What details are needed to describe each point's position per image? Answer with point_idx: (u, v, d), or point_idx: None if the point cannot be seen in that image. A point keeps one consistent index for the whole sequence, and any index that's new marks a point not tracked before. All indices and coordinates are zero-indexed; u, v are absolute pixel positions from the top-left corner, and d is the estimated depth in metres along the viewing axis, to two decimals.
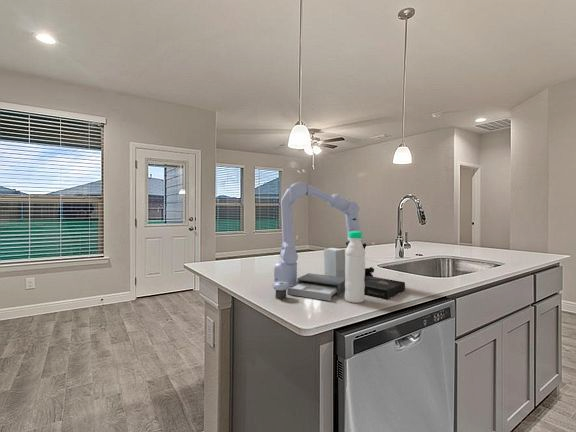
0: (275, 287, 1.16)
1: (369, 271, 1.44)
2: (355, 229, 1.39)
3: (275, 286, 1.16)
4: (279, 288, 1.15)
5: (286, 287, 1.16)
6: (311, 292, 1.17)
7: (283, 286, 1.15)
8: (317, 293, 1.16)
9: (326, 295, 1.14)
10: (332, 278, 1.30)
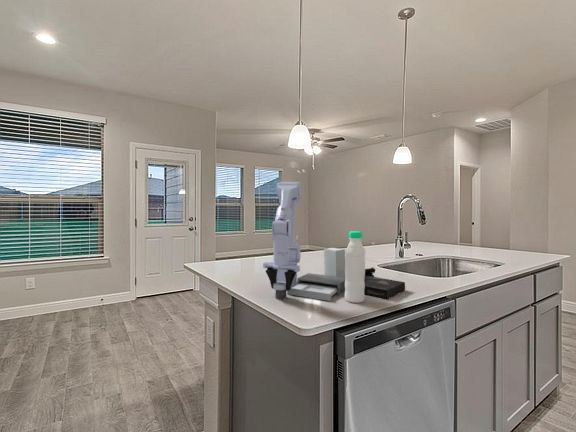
0: (275, 287, 1.16)
1: (370, 271, 1.43)
2: None
3: (275, 286, 1.16)
4: (279, 288, 1.15)
5: None
6: (311, 292, 1.17)
7: (283, 286, 1.15)
8: (317, 293, 1.16)
9: (326, 295, 1.14)
10: (332, 278, 1.30)
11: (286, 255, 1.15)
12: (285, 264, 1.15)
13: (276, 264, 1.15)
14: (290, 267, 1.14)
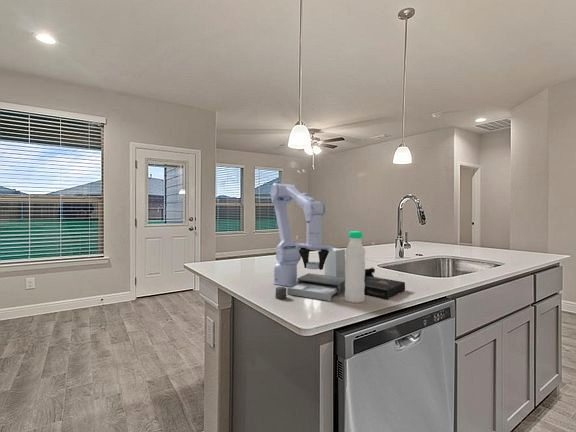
0: (308, 266, 1.19)
1: (370, 272, 1.43)
2: None
3: (308, 265, 1.19)
4: (312, 267, 1.18)
5: None
6: (311, 292, 1.17)
7: (316, 265, 1.19)
8: (317, 293, 1.16)
9: (326, 295, 1.14)
10: (332, 278, 1.30)
11: (319, 235, 1.19)
12: (318, 244, 1.19)
13: (310, 244, 1.19)
14: (324, 246, 1.17)
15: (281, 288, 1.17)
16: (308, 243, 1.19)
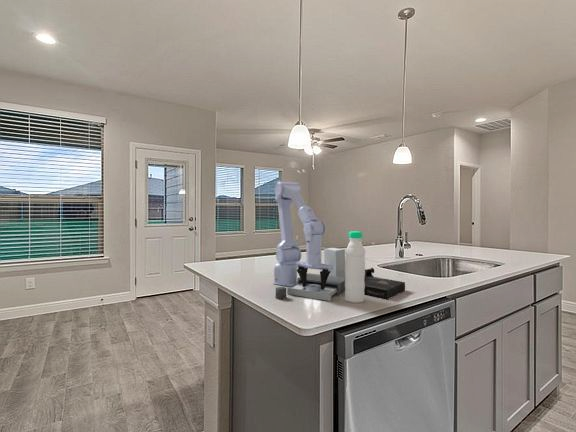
0: (308, 289, 1.20)
1: (370, 272, 1.42)
2: None
3: (308, 289, 1.20)
4: (312, 290, 1.19)
5: (319, 289, 1.20)
6: (311, 292, 1.17)
7: (316, 289, 1.19)
8: (317, 293, 1.16)
9: (326, 295, 1.14)
10: (332, 278, 1.30)
11: (319, 255, 1.19)
12: (318, 263, 1.19)
13: (309, 263, 1.19)
14: (323, 266, 1.18)
15: (281, 288, 1.17)
16: (308, 263, 1.19)
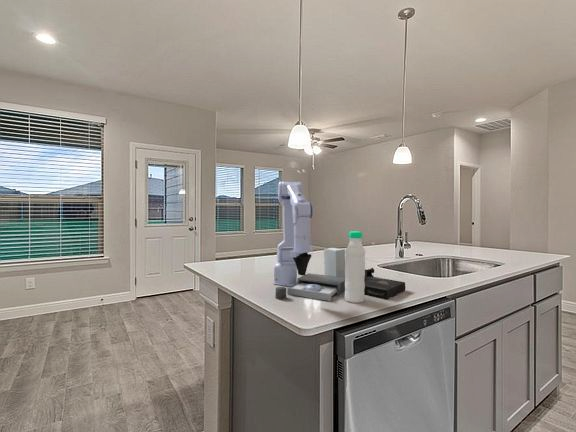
0: (308, 289, 1.20)
1: (370, 272, 1.42)
2: (298, 237, 1.09)
3: (308, 288, 1.20)
4: (312, 290, 1.19)
5: (319, 289, 1.20)
6: (311, 292, 1.17)
7: (316, 289, 1.19)
8: (317, 293, 1.16)
9: (326, 295, 1.14)
10: (332, 278, 1.30)
11: None
12: None
13: (309, 248, 1.10)
14: (311, 248, 1.15)
15: (281, 288, 1.17)
16: (307, 248, 1.10)
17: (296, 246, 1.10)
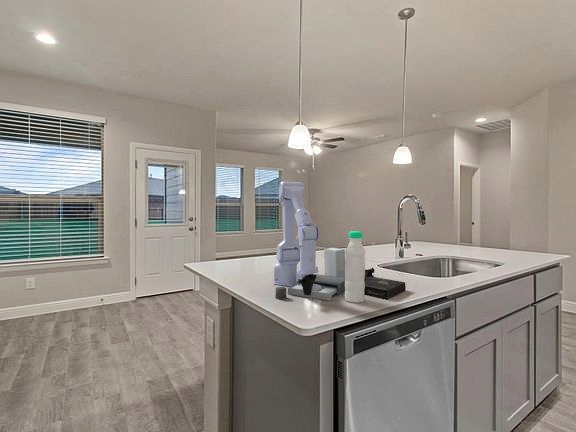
0: None
1: (371, 272, 1.42)
2: (304, 259, 1.14)
3: None
4: (312, 290, 1.19)
5: (319, 289, 1.20)
6: (311, 292, 1.17)
7: (316, 288, 1.19)
8: (317, 293, 1.16)
9: (326, 295, 1.14)
10: (332, 278, 1.30)
11: None
12: None
13: (314, 269, 1.15)
14: (316, 269, 1.20)
15: (281, 288, 1.17)
16: (312, 269, 1.14)
17: (302, 267, 1.14)
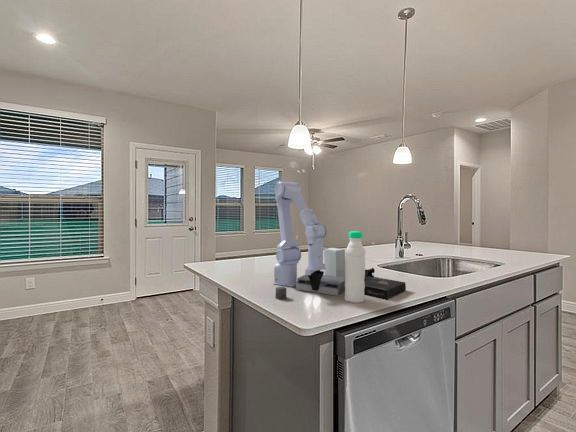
0: None
1: (371, 272, 1.42)
2: (312, 256, 1.20)
3: None
4: None
5: (326, 285, 1.26)
6: (319, 287, 1.23)
7: (323, 284, 1.25)
8: (325, 288, 1.22)
9: (333, 290, 1.21)
10: (332, 278, 1.30)
11: None
12: None
13: (321, 266, 1.21)
14: (323, 265, 1.26)
15: (281, 288, 1.17)
16: (320, 266, 1.21)
17: (310, 264, 1.21)
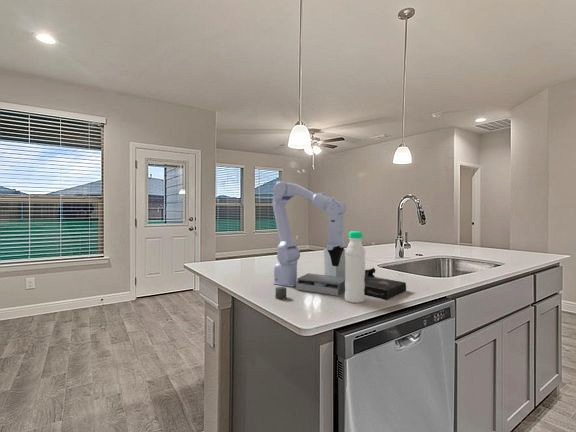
0: (315, 285, 1.26)
1: (371, 272, 1.42)
2: (333, 232, 1.22)
3: (316, 284, 1.26)
4: None
5: (326, 285, 1.26)
6: (319, 287, 1.23)
7: (323, 284, 1.26)
8: (325, 288, 1.22)
9: (333, 290, 1.21)
10: (332, 278, 1.30)
11: None
12: None
13: (342, 242, 1.23)
14: None
15: (281, 288, 1.17)
16: (341, 241, 1.23)
17: (331, 240, 1.23)
